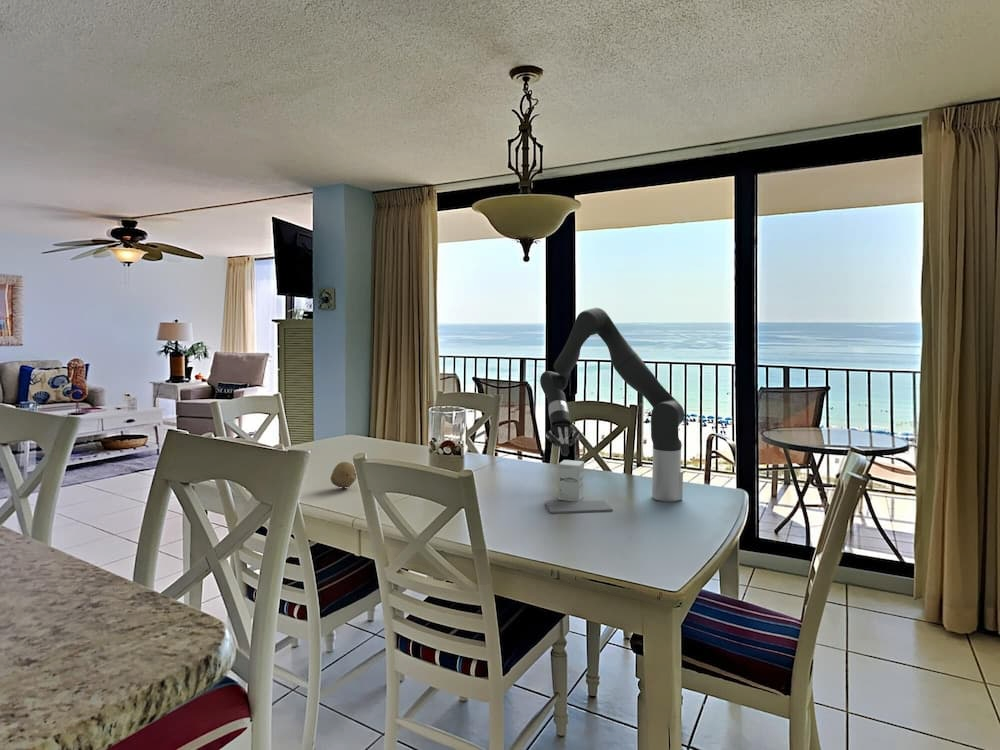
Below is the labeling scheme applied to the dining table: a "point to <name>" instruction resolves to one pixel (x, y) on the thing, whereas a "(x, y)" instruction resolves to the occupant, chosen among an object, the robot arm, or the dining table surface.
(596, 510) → the mat
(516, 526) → the dining table surface
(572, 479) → the supplement box
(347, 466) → the natural sponge
